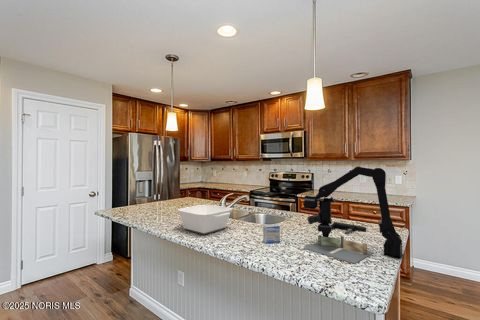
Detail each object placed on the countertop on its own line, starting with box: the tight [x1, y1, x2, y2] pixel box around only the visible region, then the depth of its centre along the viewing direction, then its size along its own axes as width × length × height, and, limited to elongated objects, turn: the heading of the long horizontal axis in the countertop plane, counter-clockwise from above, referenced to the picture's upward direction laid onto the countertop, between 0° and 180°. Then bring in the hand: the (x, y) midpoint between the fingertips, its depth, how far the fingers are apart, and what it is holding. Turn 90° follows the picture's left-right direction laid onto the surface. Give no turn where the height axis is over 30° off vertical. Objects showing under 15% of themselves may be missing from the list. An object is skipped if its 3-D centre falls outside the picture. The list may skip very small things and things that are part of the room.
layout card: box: [303, 241, 374, 265], centre depth 121 cm, size 25×19×1 cm
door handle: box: [330, 221, 367, 235], centre depth 157 cm, size 3×20×16 cm
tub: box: [177, 204, 233, 236], centre depth 158 cm, size 34×27×13 cm
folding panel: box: [317, 234, 341, 247], centre depth 126 cm, size 10×2×4 cm, turn 68°
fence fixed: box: [340, 235, 368, 255], centre depth 120 cm, size 12×2×6 cm, turn 41°
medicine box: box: [262, 224, 281, 245], centre depth 134 cm, size 8×4×9 cm, turn 105°
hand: (324, 241), depth 129 cm, fingers closed
